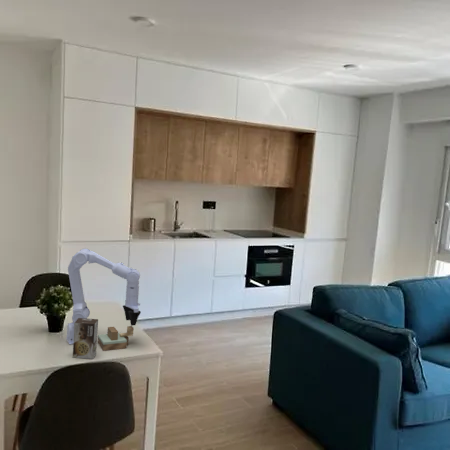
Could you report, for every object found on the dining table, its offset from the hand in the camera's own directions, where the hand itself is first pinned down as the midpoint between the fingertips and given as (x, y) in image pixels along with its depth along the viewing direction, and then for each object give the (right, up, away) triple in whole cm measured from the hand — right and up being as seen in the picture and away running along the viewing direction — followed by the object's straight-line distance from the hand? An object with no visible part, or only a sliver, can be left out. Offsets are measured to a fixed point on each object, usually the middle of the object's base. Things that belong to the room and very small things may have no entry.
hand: (130, 322), depth 216 cm
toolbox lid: (-8, -7, -4) cm, 11 cm away
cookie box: (-17, -11, -17) cm, 26 cm away
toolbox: (-8, -10, -3) cm, 14 cm away
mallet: (-2, -6, 0) cm, 7 cm away
